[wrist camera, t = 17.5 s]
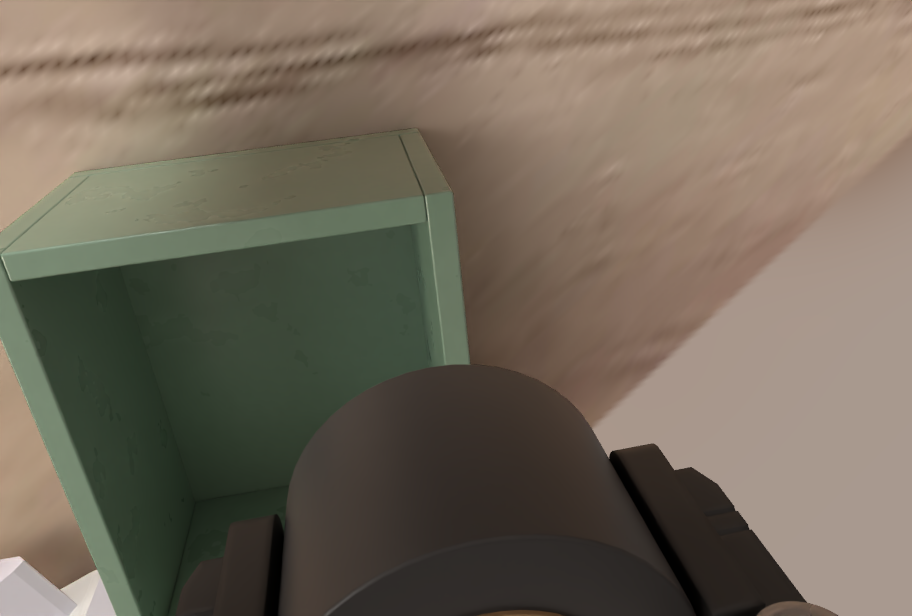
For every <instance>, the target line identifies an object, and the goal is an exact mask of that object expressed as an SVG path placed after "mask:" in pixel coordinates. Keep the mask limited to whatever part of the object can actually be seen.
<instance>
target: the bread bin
mask: <svg viewBox="0 0 912 616" xmlns="http://www.w3.org/2000/svg"><path fill="white" fill-rule="evenodd" d="M0 339H1V342H2V344H3V346H4V349H5V351H6V353H7V356H8V358H9V361H10V363H11V365H12V368H13V370H14V373H15V375H16V377H17V380H18V382H19V384H20V387H21V389H22V392H23V394H24V396H25V399H26V401H27V404H28V406H29V408H30V411H31V413H32V415H33V418H34V420H35V423H36V425H37V427H38V430H39V432H40V435H41V437H42V439H43V442H44V444H45V446H46V449H47V451H48V454H49V456H50V458H51V461H52V463H53V466H54V468H55V470H56V473H57V475H58V477H59V480H60V482H61V485H62V487H63V489H64V492H65V494H66V497H67V499H68V501H69V504H70V506H71V508H72V511H73V513H74V516H75V518H76V520H77V523H78V525H79V528H80V530H81V532H82V535H83V537H84V540H85V542H86V544H87V547H88V549H89V551H90V554H91V556H92V559H93V561H94V563H95V566H96V568H97V571H98V573H99V575H100V578H101V580H102V582H103V585H104V587H105V590H106V592H107V594H108V597H109V599H110V602H111V604H112V606H113V609H114V611H115V613H116V616H175V615H176V611H177V606H178V602H179V598H180V594H181V590H182V588H183V586H184V585H185V583H186V582H187V581H188V579H189V578H190V576H191V575H192V573H193V572H194V571H195V569H196V568H197V566H198V565H199V563H200V562H201V561H205V560H210V559H215V558H220V557H224V552H225V547H226V541H227V536H228V530H229V527H230V524H231V523H232V522H236V521H242V520H247V519H252V518H257V517H263V516H268V515H273V514H277V515H278V516H279V518H280V520H281V523H282V526H283V530H284V529H285V517H286V505H287V497H288V491H289V484H290V481H291V478H292V475H293V472H294V469H295V466H296V464H297V462H298V460H299V458H300V456H301V454H302V452H303V450H304V448H305V447H306V445H307V444H308V443H309V441H310V440H311V438H312V437H313V435H314V434H315V433H316V431H317V430H318V429H319V428H320V427H321V426H322V425H323V424H324V423H325V422H326V421H327V420H328V418H329V417H330V416H331V415H333V414H334V413H335V412H336V411H337V410H339V409H340V408H341V407H342V406H343V405H345V404H346V403H347V402H348V401H350V400H351V399H353V398H355V397H356V396H358V395H359V394H361V393H362V392H364V391H365V390H367V389H369V388H371V387H373V386H375V385H377V384H379V383H381V382H383V381H385V380H388V379H391V378H393V377H396V376H399V375H402V374H405V373H408V372H412V371H416V370H420V369H424V368H429V367H435V366H444V365H453V364H470V355H469V345H468V335H467V325H466V315H465V305H464V295H463V285H462V275H461V265H460V255H459V245H458V235H457V225H456V215H455V205H454V195H453V192H452V190H451V188H450V186H449V184H448V183H447V181H446V179H445V177H444V175H443V174H442V172H441V170H440V168H439V166H438V165H437V163H436V161H435V159H434V157H433V156H432V154H431V152H430V150H429V148H428V147H427V145H426V143H425V141H424V139H423V138H422V136H421V134H420V132H419V130H418V129H417V128H413V129H405V130H398V131H390V132H382V133H375V134H367V135H359V136H351V137H344V138H336V139H328V140H321V141H313V142H305V143H298V144H290V145H282V146H274V147H267V148H259V149H251V150H244V151H236V152H228V153H220V154H213V155H205V156H197V157H190V158H182V159H174V160H166V161H159V162H151V163H143V164H136V165H128V166H120V167H113V168H105V169H97V170H89V171H82V172H75V173H74V174H72V175H71V176H70V177H69V178H68V179H66V180H65V181H64V182H63V183H61V184H60V185H59V186H58V187H56V188H55V189H54V190H53V191H51V192H50V193H49V194H48V195H46V196H45V197H44V198H43V199H41V200H40V201H39V202H38V203H36V204H35V205H34V206H33V207H31V208H30V209H29V210H28V211H27V212H25V213H24V214H23V215H22V216H20V217H19V218H18V219H17V220H15V221H14V222H13V223H12V224H10V225H9V226H8V227H7V228H5V229H4V230H3V231H2V232H0Z"/></svg>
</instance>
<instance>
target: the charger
mask: <svg viewBox="0 0 912 616" xmlns="http://www.w3.org/2000/svg"><path fill="white" fill-rule="evenodd" d="M0 616H116V613H115V611H114V609H113V606H112V604H111V602H110V599H109V597H108V594H107V592H106V590H105V587H104V585H103V582H102V580H101V578H100V575H99V573H98V571H97V570H95V571H93V572H91V573H89V574H87V575H85V576H83V577H82V578H80V579H78V580H76V581H75V582H73V583H71V584H69V585H67V586H66V587H64V588H62V589H59V588H58V587H56V586H55V585H54V584H53V583H51V582H50V581H49V580H48V579H47V578H45V577H44V576H43V575H42V574H41V573H39V572H38V571H37V570H36V569H35V568H33V567H32V566H31V565H30V564H29V563H27V562H26V561H25V560H24V559H23V558H21V557H20V556H18V557H12V558H6V559H1V560H0Z"/></svg>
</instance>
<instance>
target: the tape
mask: <svg viewBox="0 0 912 616" xmlns="http://www.w3.org/2000/svg"><path fill="white" fill-rule="evenodd" d="M277 616H697V615H696V613H695V611H694V609H693V606H692V604H691V602H690V601H689V599H688V597H687V595H686V594H685V592H684V590H683V588H682V587H681V585H680V583H679V581H678V580H677V578H676V576H675V574H674V572H673V571H672V569H671V567H670V565H669V564H668V562H667V560H666V558H665V557H664V555H663V553H662V551H661V550H660V548H659V546H658V544H657V543H656V541H655V539H654V537H653V536H652V534H651V532H650V530H649V529H648V527H647V525H646V523H645V521H644V520H643V518H642V516H641V514H640V513H639V511H638V509H637V507H636V506H635V504H634V502H633V500H632V499H631V497H630V495H629V493H628V492H627V490H626V488H625V486H624V485H623V483H622V481H621V479H620V478H619V476H618V474H617V472H616V471H615V469H614V467H613V465H612V463H611V462H610V460H609V458H608V457H607V455H606V453H605V451H604V449H603V448H602V446H601V444H600V442H599V441H598V439H597V437H596V435H595V434H594V432H593V430H592V428H591V427H590V425H589V424H588V422H587V421H586V420H585V418H584V417H583V415H582V414H581V413H580V412H579V411H578V410H577V408H576V407H575V406H574V405H573V404H572V403H571V402H570V401H569V400H567V399H566V398H565V397H564V396H562V395H561V394H560V393H558V392H557V391H556V390H554V389H553V388H551V387H549V386H547V385H546V384H544V383H542V382H540V381H538V380H536V379H534V378H531V377H529V376H526V375H524V374H521V373H518V372H515V371H511V370H507V369H503V368H499V367H492V366H484V365H476V364H453V365H444V366H435V367H429V368H424V369H420V370H416V371H412V372H408V373H405V374H402V375H399V376H396V377H393V378H391V379H388V380H385V381H383V382H381V383H379V384H377V385H375V386H373V387H371V388H369V389H367V390H365V391H364V392H362V393H361V394H359V395H358V396H356V397H355V398H353V399H351V400H350V401H348V402H347V403H346V404H345V405H343V406H342V407H341V408H340V409H339V410H337V411H336V412H335V413H334V414H333V415H331V416H330V417H329V418H328V420H327V421H326V422H325V423H324V424H323V425H322V426H321V427H320V428H319V429H318V430H317V431H316V433H315V434H314V435H313V437H312V438H311V440H310V441H309V443H308V444H307V445H306V447H305V448H304V450H303V452H302V454H301V456H300V458H299V460H298V462H297V464H296V466H295V469H294V472H293V475H292V478H291V481H290V484H289V491H288V497H287V505H286V517H285V529H284V540H283V552H282V564H281V575H280V587H279V599H278V610H277Z"/></svg>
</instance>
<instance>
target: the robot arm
mask: <svg viewBox="0 0 912 616" xmlns="http://www.w3.org/2000/svg"><path fill="white" fill-rule="evenodd" d="M609 460H610V462H611V463H612V465H613V467H614V469H615V471H616V472H617V474H618V476H619V478H620V479H621V481H622V483H623V485H624V486H625V488H626V490H627V492H628V493H629V495H630V497H631V499H632V500H633V502H634V504H635V506H636V507H637V509H638V511H639V513H640V514H641V516H642V518H643V520H644V521H645V523H646V525H647V527H648V529H649V530H650V532H651V534H652V536H653V537H654V539H655V541H656V543H657V544H658V546H659V548H660V550H661V551H662V553H663V555H664V557H665V558H666V560H667V562H668V564H669V565H670V567H671V569H672V571H673V572H674V574H675V576H676V578H677V580H678V581H679V583H680V585H681V587H682V588H683V590H684V592H685V594H686V595H687V597H688V599H689V601H690V602H691V604H692V606H693V609H694V611H695V613H696V615H697V616H838V615H837V614H835V613H833V612H831V611H829V610H827V609H825V608H823V607H820V606H817V605H813V604H810V603H807V602H806V601H805V599H804V598H803V597H802V596H801V594H800V593H799V592H798V590H797V589H796V588H795V587H794V585H793V584H792V583H791V581H790V580H789V579H788V577H787V576H786V574H785V573H784V572H783V570H782V569H781V568H780V567H779V565H778V564H777V562H776V561H775V560H774V559H773V557H772V556H771V555H770V553H769V552H768V551H767V550H766V548H765V547H764V545H763V544H762V543H761V541H760V540H759V539H758V537H757V536H756V535H755V533H754V532H753V531H752V530H749V527H748V524H747V523H746V521H745V520H744V519H743V517H742V516H741V515H740V514H739V512H738V511H735V508H734V505H733V504H732V503H731V502H730V500H729V499H728V498H727V496H726V495H725V494H724V492H723V491H722V490H721V488H720V487H719V486H718V484H716V483H715V482H713V481H712V480H710V479H709V478H707V477H706V476H704V475H703V474H701V473H699V472H698V471H696V470H695V469H693V468H692V467H690V468H684V469H679V470H674V469H673V468H672V466H671V465H670V463H669V462H668V461H667V459H666V458H665V456H664V455H663V453H662V452H661V450H660V449H659V448H658V446H656V445H655V444H647V445H642V446H636V447H631V448H626V449H621V450H615V451H612V452H611V453H610V457H609ZM283 540H284V530H283V526H282V523H281V520H280V518H279V516H278V515H277V514H273V515H268V516H263V517H257V518H252V519H247V520H242V521H236V522H232V523H231V524H230V527H229V530H228V536H227V541H226V547H225V552H224V557H220V558H215V559H210V560H205V561H201V562H200V563H199V565H198V566H197V568H196V569H195V571H194V572H193V573H192V575H191V576H190V578H189V579H188V581H187V582H186V583H185V585H184V586H183V588H182V590H181V594H180V598H179V602H178V606H177V611H176V615H175V616H277V610H278V599H279V587H280V575H281V564H282V552H283Z"/></svg>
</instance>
